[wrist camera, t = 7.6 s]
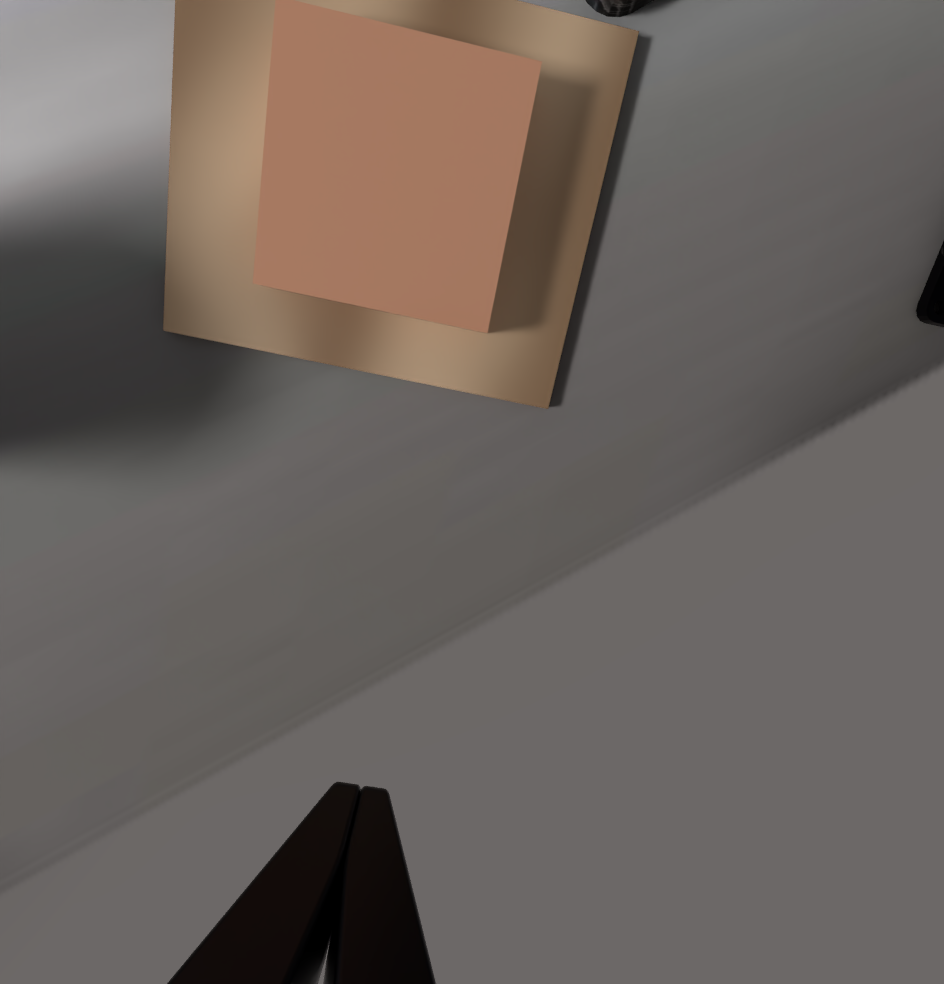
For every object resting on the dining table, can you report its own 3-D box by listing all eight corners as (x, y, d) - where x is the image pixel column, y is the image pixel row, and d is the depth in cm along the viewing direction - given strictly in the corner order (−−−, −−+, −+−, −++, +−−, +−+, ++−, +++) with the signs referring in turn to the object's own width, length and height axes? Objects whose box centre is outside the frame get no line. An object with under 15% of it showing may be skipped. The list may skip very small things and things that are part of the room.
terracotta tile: (295, 31, 15) (534, 89, 15) (272, 288, 17) (485, 333, 17) (275, -5, 13) (542, 61, 14) (252, 283, 15) (487, 333, 16)
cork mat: (634, 38, 15) (639, 31, 15) (546, 407, 18) (548, 408, 18) (186, -75, 15) (178, -86, 14) (169, 330, 18) (163, 330, 17)
